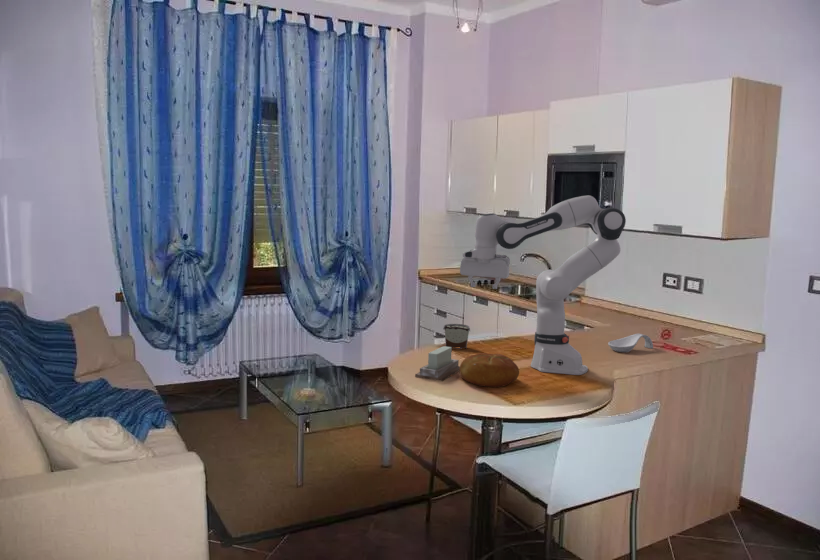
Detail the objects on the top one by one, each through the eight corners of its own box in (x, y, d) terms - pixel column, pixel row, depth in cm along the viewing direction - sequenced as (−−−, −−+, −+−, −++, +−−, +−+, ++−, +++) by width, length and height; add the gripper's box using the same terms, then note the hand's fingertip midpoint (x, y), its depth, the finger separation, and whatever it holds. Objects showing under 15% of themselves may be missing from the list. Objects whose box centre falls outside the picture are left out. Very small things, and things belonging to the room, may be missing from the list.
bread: (532, 381, 252) (534, 355, 251) (497, 393, 235) (498, 365, 233) (482, 369, 267) (483, 344, 266) (445, 380, 250) (446, 354, 248)
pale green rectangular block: (451, 367, 265) (451, 347, 264) (436, 375, 252) (437, 354, 251) (442, 366, 266) (443, 346, 265) (427, 373, 254) (428, 353, 253)
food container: (471, 346, 308) (472, 324, 307) (469, 349, 302) (470, 327, 301) (445, 344, 311) (446, 322, 310) (442, 346, 305) (443, 325, 304)
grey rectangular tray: (462, 369, 266) (462, 360, 265) (442, 381, 248) (442, 371, 248) (437, 365, 271) (437, 357, 270) (415, 376, 253) (415, 367, 253)
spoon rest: (621, 355, 299) (622, 339, 298) (602, 349, 309) (603, 334, 308) (658, 350, 310) (660, 335, 309) (639, 345, 320) (640, 330, 319)
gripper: (512, 254, 270) (510, 289, 272) (464, 251, 279) (463, 285, 281) (507, 255, 264) (505, 290, 266) (459, 252, 273) (457, 286, 275)
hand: (483, 287), depth 273 cm, fingers open, 8 cm apart
